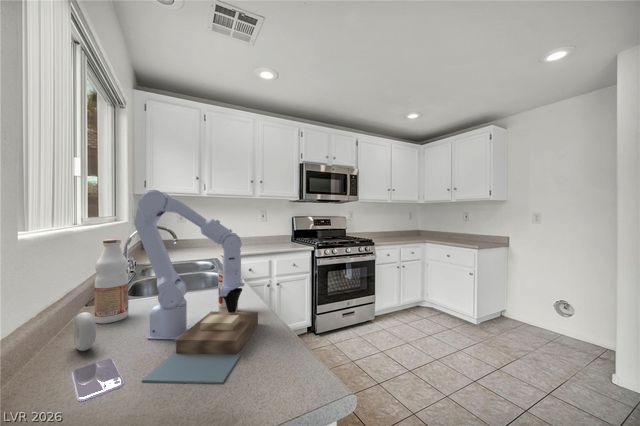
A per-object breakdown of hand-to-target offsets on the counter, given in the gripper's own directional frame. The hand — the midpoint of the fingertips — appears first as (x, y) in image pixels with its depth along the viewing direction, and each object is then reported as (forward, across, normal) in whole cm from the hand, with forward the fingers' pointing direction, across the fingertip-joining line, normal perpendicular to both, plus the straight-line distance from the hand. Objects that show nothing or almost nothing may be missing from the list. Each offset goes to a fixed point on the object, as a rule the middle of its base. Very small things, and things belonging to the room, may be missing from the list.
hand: (232, 311), depth 86 cm
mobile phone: (+5, -28, +20) cm, 35 cm away
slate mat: (+5, -23, 0) cm, 23 cm away
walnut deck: (+5, -8, 0) cm, 9 cm away
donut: (+5, -16, +35) cm, 39 cm away
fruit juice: (+5, +5, +45) cm, 46 cm away
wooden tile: (+1, -9, 0) cm, 9 cm away
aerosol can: (+5, +12, +6) cm, 14 cm away
